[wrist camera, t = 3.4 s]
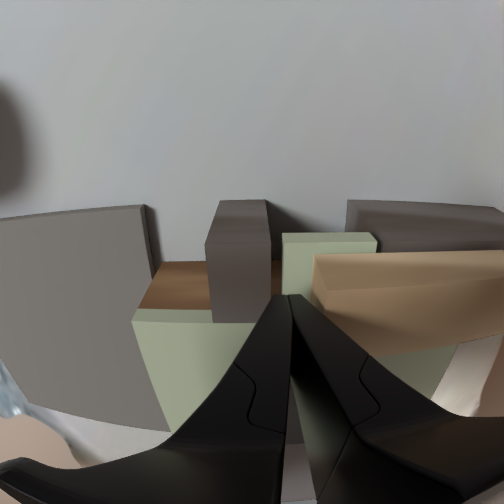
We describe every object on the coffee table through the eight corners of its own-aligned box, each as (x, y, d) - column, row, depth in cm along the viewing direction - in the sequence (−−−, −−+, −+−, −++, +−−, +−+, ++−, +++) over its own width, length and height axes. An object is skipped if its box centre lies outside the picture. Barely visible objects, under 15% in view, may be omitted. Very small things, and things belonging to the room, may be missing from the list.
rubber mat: (194, 427, 21) (193, 433, 21) (31, 398, 22) (29, 402, 21) (143, 204, 14) (139, 208, 13) (-49, 226, 14) (-54, 229, 13)
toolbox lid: (395, 439, 16) (411, 489, 12) (187, 453, 16) (179, 509, 13) (483, 233, 10) (550, 285, 6) (121, 237, 10) (60, 308, 6)
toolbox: (429, 388, 20) (450, 433, 16) (194, 408, 20) (185, 463, 16) (493, 207, 13) (548, 241, 9) (153, 203, 14) (112, 246, 9)
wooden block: (485, 303, 10) (509, 331, 8) (307, 321, 10) (317, 363, 8) (502, 249, 9) (532, 274, 7) (313, 254, 9) (327, 290, 7)
